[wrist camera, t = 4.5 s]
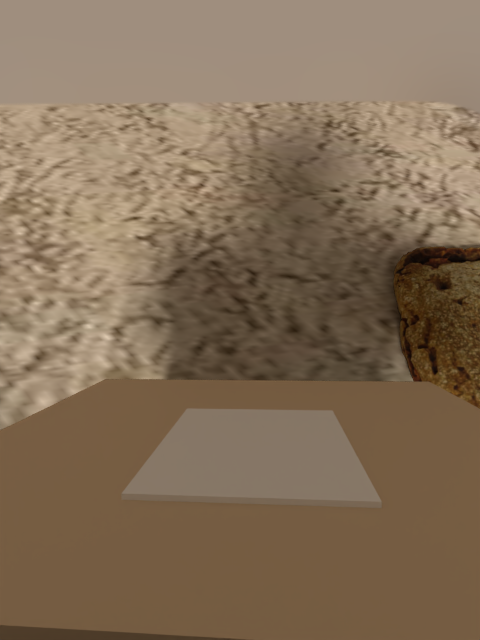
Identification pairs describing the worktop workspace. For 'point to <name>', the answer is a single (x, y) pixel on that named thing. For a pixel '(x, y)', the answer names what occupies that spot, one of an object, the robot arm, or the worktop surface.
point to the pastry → (441, 318)
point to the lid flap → (242, 513)
